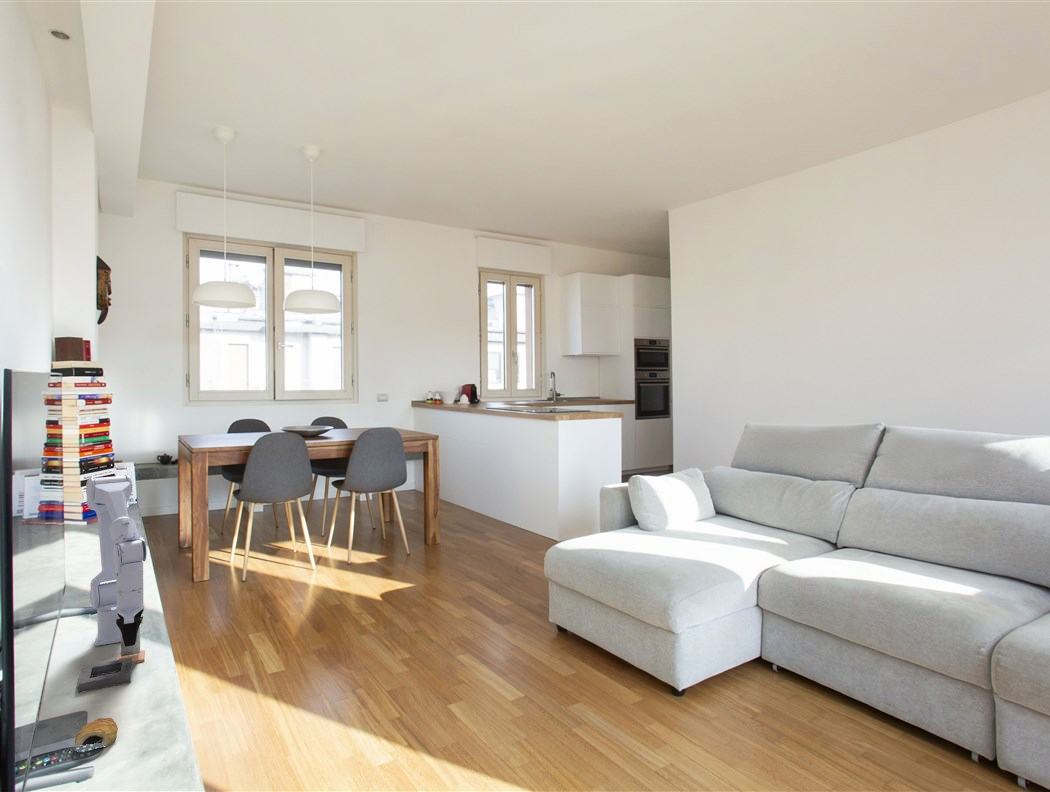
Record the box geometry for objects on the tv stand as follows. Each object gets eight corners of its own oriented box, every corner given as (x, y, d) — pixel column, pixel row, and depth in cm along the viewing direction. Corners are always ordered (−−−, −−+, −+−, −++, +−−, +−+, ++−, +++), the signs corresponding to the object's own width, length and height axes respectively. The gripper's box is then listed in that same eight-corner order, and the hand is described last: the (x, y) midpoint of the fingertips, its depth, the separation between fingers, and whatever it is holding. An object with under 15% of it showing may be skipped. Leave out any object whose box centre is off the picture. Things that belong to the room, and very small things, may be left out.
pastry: (83, 731, 125) (83, 712, 125) (123, 724, 128) (123, 705, 128) (71, 756, 117) (71, 736, 117) (113, 748, 120) (114, 729, 120)
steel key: (143, 646, 160) (142, 617, 160) (142, 652, 157) (142, 622, 156) (118, 651, 157) (118, 621, 157) (118, 657, 154) (117, 626, 154)
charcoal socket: (82, 674, 149) (82, 666, 149) (132, 665, 154) (132, 657, 154) (78, 692, 140) (77, 684, 140) (130, 682, 145) (130, 673, 145)
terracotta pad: (117, 657, 158) (117, 655, 158) (144, 652, 161) (144, 650, 161) (115, 666, 153) (115, 664, 153) (144, 661, 156) (144, 659, 156)
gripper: (112, 582, 161) (113, 634, 161) (108, 600, 148) (109, 656, 149) (144, 578, 164) (145, 629, 165) (143, 595, 152) (143, 650, 152)
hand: (130, 642), depth 157 cm, fingers closed on steel key, 4 cm apart
